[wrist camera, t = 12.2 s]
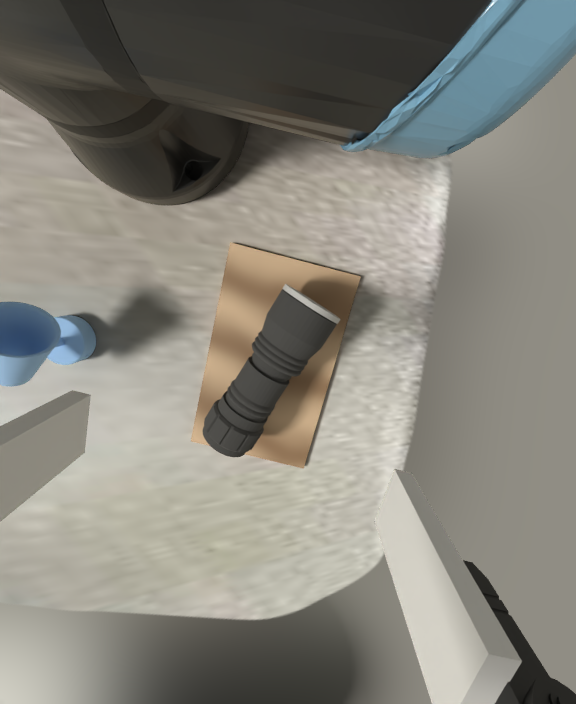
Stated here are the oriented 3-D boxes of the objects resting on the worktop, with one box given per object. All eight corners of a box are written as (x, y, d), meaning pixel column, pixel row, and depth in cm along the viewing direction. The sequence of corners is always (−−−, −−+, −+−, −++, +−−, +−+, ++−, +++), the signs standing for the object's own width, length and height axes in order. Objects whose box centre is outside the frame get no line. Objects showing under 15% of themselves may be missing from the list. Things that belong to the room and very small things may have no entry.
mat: (231, 243, 28) (230, 242, 27) (359, 276, 28) (360, 276, 28) (192, 439, 32) (190, 441, 32) (303, 466, 32) (303, 468, 32)
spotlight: (74, 290, 29) (35, 343, 30) (-39, 295, 19) (-89, 372, 20) (116, 326, 30) (77, 376, 31) (28, 347, 20) (-25, 420, 21)
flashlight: (252, 442, 32) (243, 474, 26) (206, 415, 31) (187, 443, 26) (336, 315, 28) (345, 322, 23) (286, 283, 28) (284, 283, 23)
